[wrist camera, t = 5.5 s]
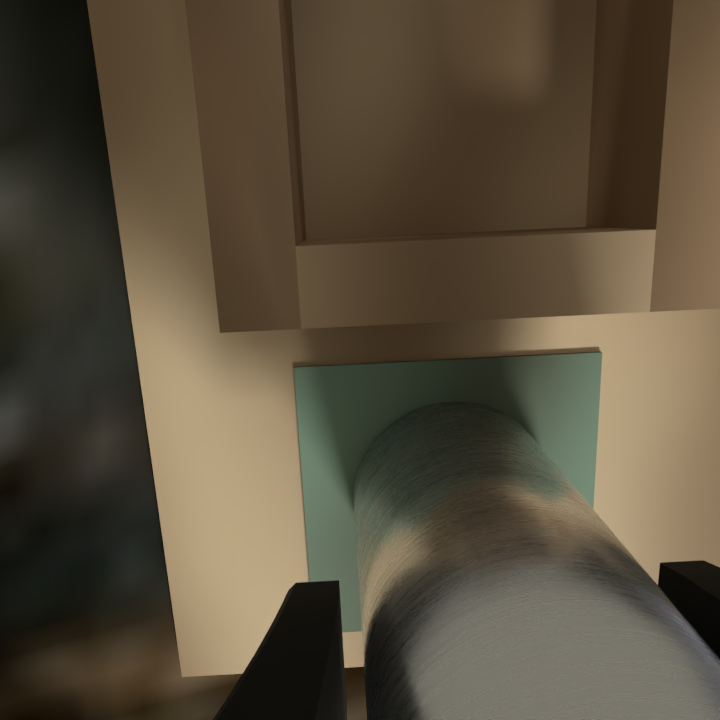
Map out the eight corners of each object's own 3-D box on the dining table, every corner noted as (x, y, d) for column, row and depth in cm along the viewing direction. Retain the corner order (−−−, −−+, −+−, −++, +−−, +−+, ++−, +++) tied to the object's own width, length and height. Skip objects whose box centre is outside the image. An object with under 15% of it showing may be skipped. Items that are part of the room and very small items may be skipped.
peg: (552, 396, 11) (1008, 798, 4) (544, 572, 12) (886, 1177, 5) (349, 407, 11) (379, 847, 4) (358, 584, 12) (396, 1224, 5)
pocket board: (810, -336, 9) (1025, -590, 6) (701, 631, 14) (798, 744, 11) (55, -312, 9) (-82, -562, 6) (188, 660, 13) (144, 783, 10)
